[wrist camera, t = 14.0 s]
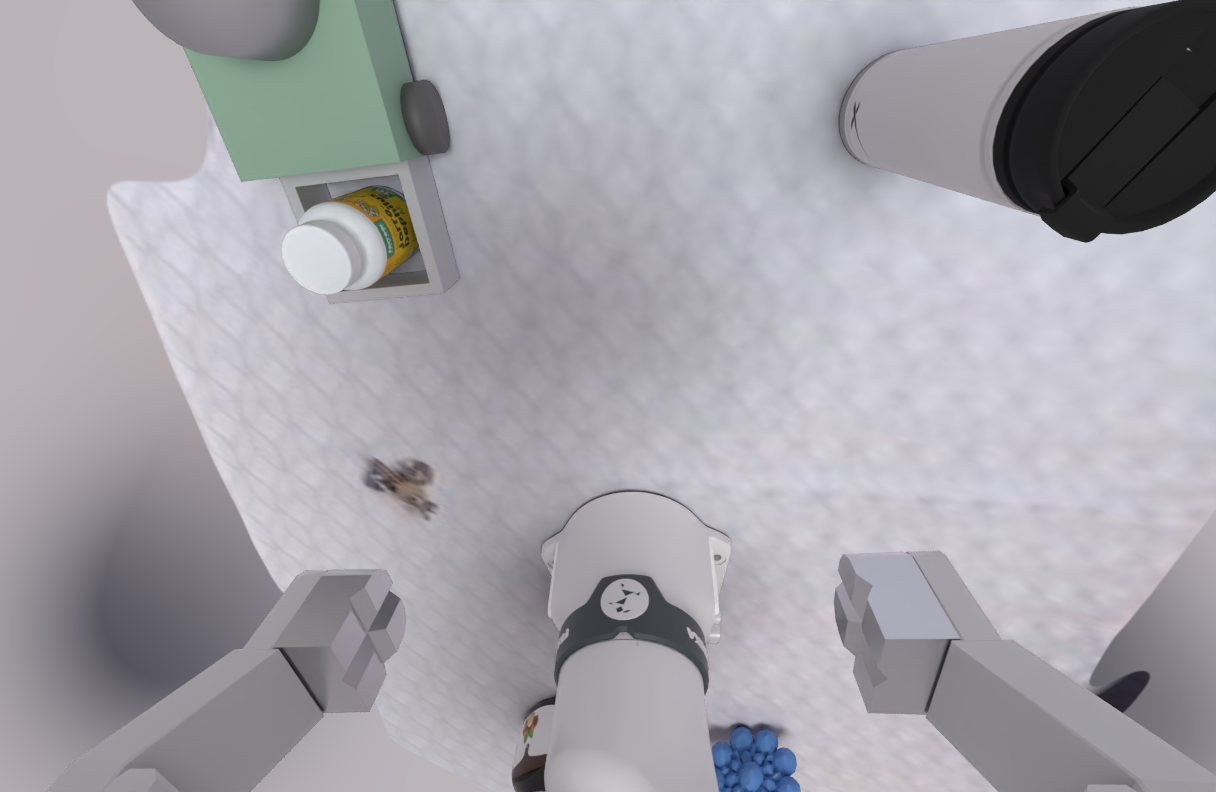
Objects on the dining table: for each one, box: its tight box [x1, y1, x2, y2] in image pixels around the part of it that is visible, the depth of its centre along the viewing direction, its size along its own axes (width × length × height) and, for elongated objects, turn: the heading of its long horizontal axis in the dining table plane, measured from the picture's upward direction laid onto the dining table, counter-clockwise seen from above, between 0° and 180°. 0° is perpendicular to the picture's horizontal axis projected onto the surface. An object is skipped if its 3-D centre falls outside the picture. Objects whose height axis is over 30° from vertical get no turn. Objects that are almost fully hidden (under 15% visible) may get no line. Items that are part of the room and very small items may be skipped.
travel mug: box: [839, 0, 1216, 243], centre depth 23 cm, size 6×7×20 cm
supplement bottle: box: [281, 186, 419, 295], centre depth 33 cm, size 5×5×10 cm
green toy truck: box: [132, 0, 460, 304], centre depth 30 cm, size 23×12×10 cm, turn 7°
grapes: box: [712, 727, 801, 792], centre depth 62 cm, size 12×7×12 cm, turn 98°
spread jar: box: [512, 698, 556, 792], centre depth 64 cm, size 12×11×12 cm
